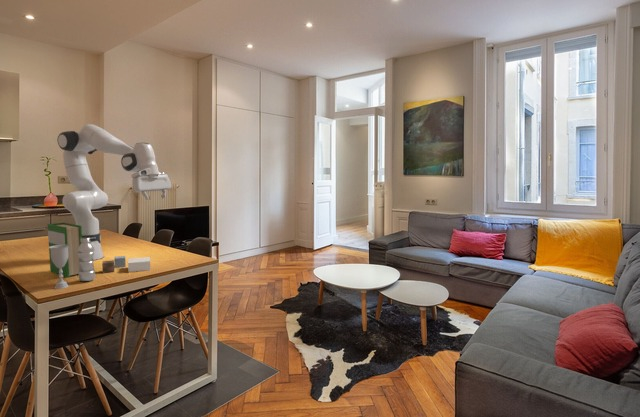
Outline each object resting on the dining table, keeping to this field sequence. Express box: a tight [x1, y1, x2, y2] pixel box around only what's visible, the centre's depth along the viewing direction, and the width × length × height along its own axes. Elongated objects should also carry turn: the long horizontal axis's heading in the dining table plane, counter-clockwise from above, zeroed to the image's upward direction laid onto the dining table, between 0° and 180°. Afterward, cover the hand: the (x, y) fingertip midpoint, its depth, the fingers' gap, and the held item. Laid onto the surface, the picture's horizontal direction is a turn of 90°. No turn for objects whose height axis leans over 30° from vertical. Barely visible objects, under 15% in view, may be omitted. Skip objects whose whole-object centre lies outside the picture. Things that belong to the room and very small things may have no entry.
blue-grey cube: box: [113, 255, 127, 269], centre depth 195 cm, size 5×5×5 cm
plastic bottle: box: [77, 237, 96, 282], centre depth 168 cm, size 6×7×20 cm
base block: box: [127, 256, 151, 273], centre depth 191 cm, size 10×10×5 cm
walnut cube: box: [101, 259, 116, 274], centre depth 185 cm, size 5×5×5 cm
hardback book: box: [47, 222, 82, 279], centre depth 180 cm, size 18×7×24 cm, turn 57°
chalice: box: [48, 245, 69, 290], centre depth 159 cm, size 7×7×18 cm
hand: (156, 199), depth 190 cm, fingers open, 8 cm apart
